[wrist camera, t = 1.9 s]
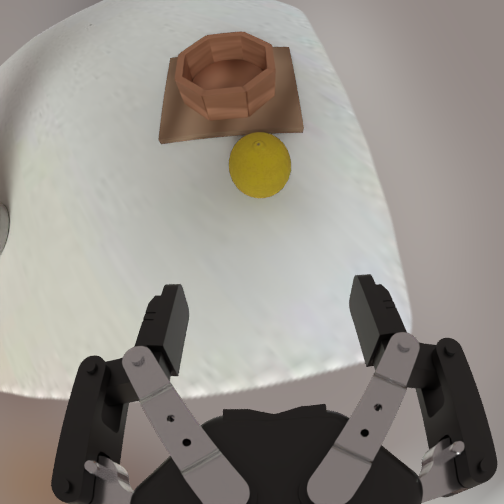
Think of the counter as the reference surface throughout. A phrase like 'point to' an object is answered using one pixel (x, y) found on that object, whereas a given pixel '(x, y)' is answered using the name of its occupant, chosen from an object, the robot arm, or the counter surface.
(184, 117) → the brown bowl on base
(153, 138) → the counter surface
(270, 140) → the lemon
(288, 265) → the counter surface
